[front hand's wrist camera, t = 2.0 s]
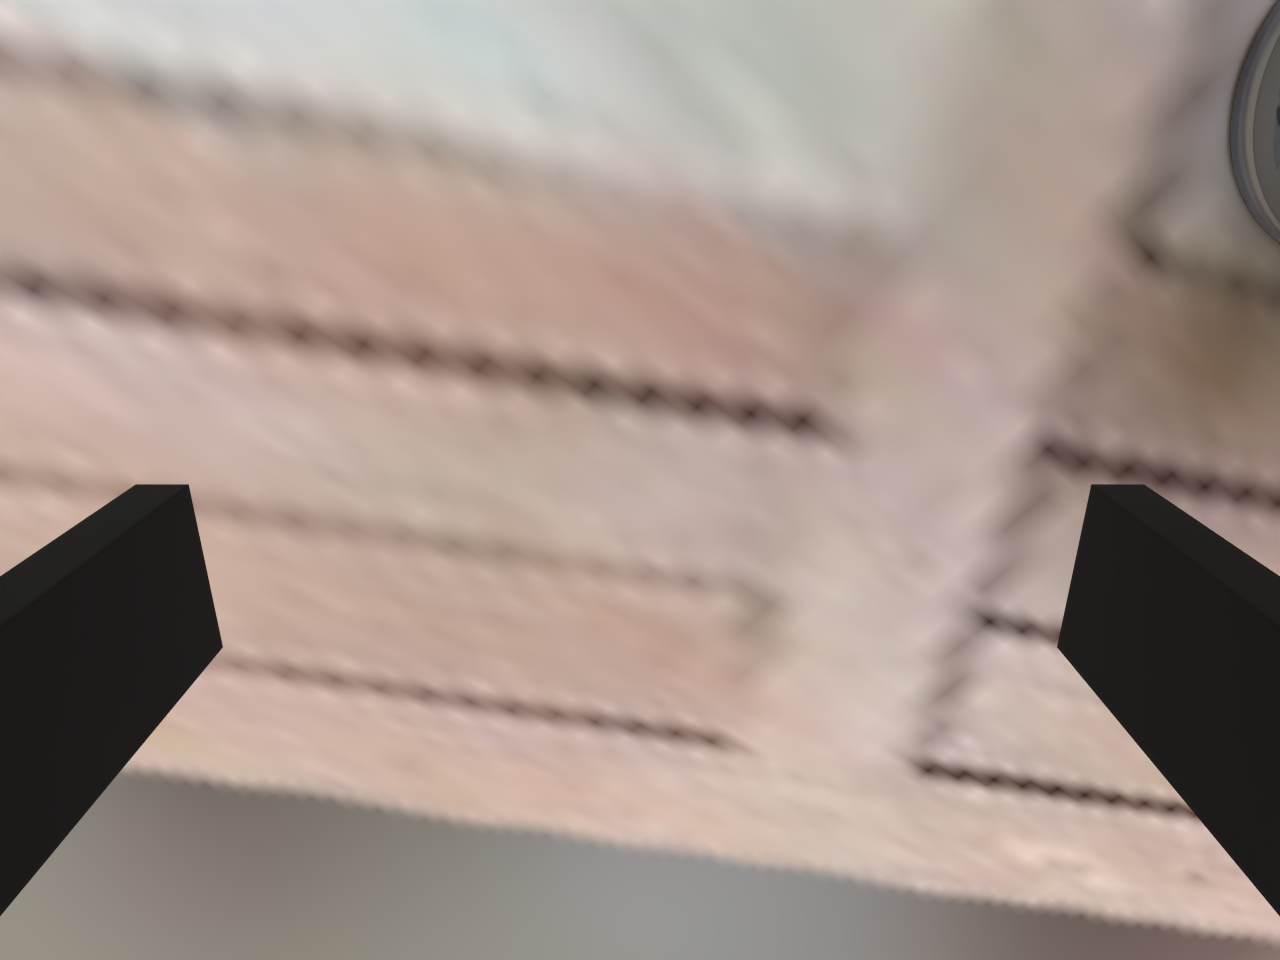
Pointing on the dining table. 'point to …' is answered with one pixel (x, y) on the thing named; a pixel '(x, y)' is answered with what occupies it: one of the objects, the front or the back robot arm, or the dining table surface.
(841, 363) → the dining table surface
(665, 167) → the dining table surface
